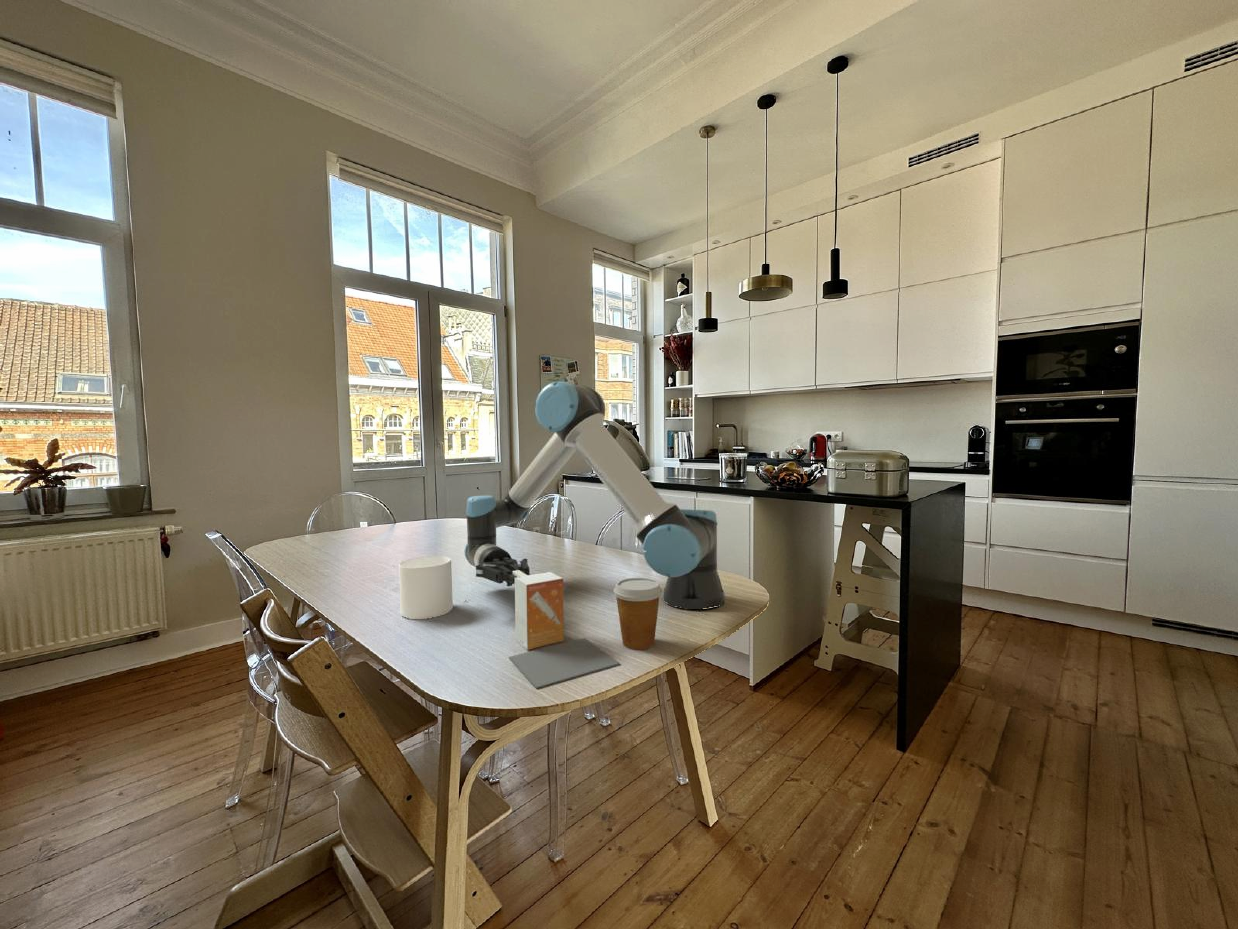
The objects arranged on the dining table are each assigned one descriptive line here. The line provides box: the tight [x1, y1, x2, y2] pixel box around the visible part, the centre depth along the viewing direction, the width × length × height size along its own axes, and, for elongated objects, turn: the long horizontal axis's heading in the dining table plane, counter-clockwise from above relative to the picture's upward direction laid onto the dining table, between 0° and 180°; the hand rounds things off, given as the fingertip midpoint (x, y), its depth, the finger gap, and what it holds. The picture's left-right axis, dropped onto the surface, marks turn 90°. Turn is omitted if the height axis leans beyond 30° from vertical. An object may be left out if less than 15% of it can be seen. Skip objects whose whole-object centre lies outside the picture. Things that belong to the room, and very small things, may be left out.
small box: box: [514, 571, 565, 651], centre depth 99 cm, size 8×6×13 cm
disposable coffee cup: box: [613, 577, 663, 650], centre depth 97 cm, size 10×10×12 cm
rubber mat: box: [508, 637, 621, 690], centre depth 89 cm, size 16×14×1 cm
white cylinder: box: [398, 555, 454, 620], centre depth 118 cm, size 12×12×12 cm
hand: (526, 583), depth 103 cm, fingers closed
